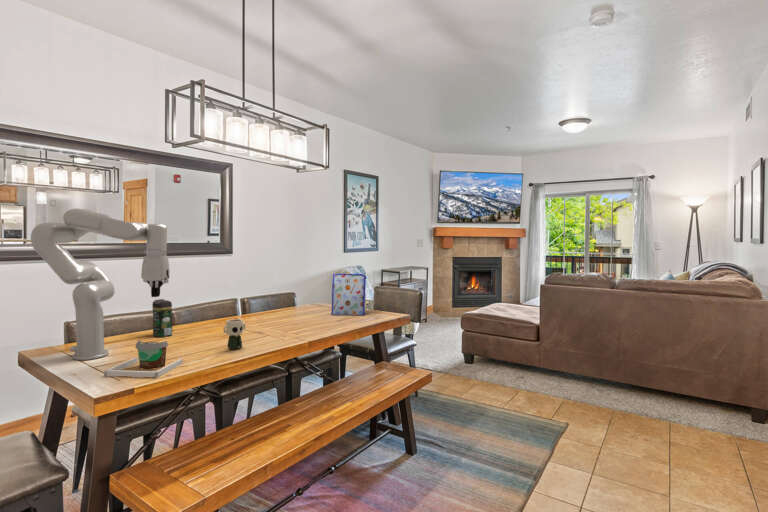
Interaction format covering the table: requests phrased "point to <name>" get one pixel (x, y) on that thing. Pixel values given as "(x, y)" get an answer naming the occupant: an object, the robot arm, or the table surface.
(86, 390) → the table surface
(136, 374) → the grey u-shaped frame
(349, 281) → the lunch bag
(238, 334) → the cream and green figurine
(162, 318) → the coffee jar
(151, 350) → the food container
